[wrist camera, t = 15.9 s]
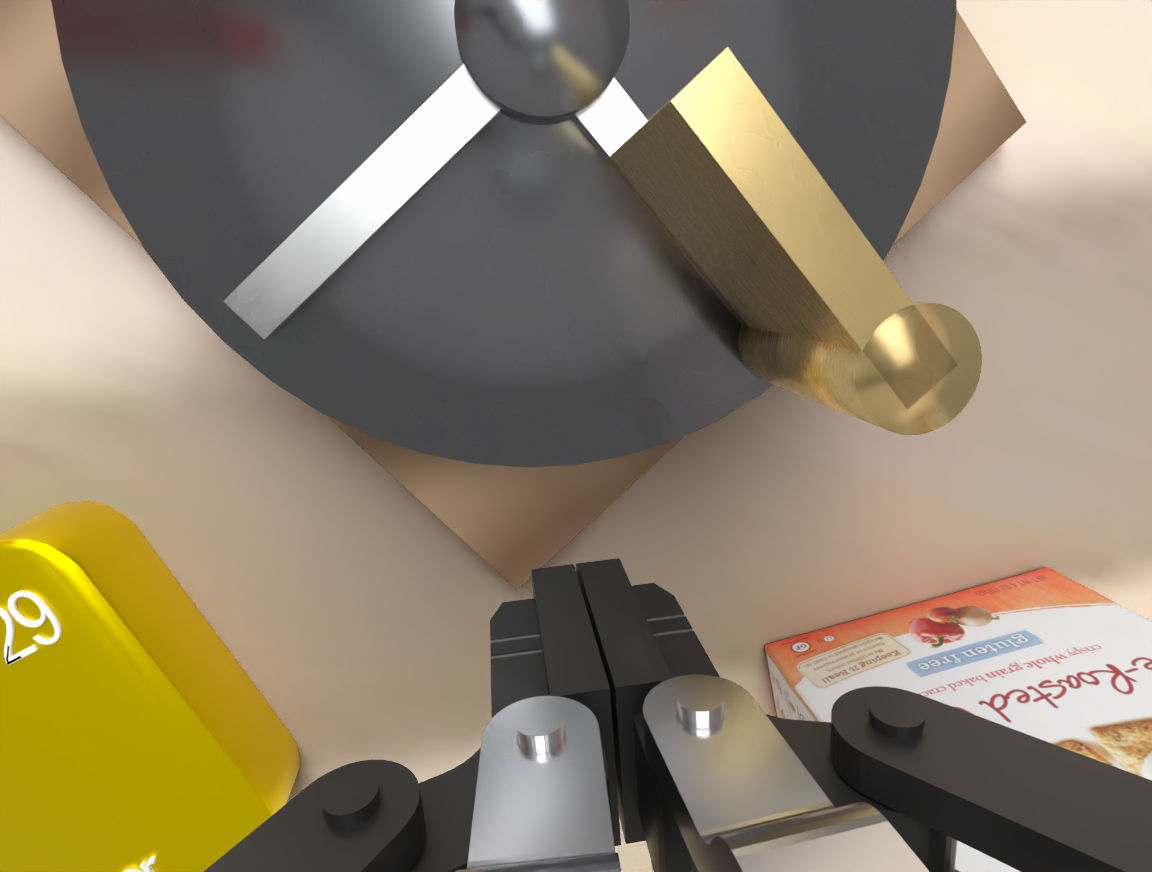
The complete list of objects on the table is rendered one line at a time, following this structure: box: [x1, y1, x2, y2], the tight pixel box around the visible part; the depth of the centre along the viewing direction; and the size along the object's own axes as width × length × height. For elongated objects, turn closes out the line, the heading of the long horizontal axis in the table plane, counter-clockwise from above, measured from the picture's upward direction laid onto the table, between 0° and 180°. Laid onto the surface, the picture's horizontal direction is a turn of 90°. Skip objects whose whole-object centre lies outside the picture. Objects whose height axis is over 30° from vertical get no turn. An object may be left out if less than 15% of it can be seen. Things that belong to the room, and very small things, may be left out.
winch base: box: [0, 0, 1026, 590], centre depth 22 cm, size 27×26×5 cm
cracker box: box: [765, 567, 1152, 872], centre depth 22 cm, size 14×6×21 cm, turn 103°
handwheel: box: [51, 0, 982, 468], centre depth 16 cm, size 24×24×8 cm
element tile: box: [0, 501, 300, 872], centre depth 26 cm, size 15×15×5 cm
